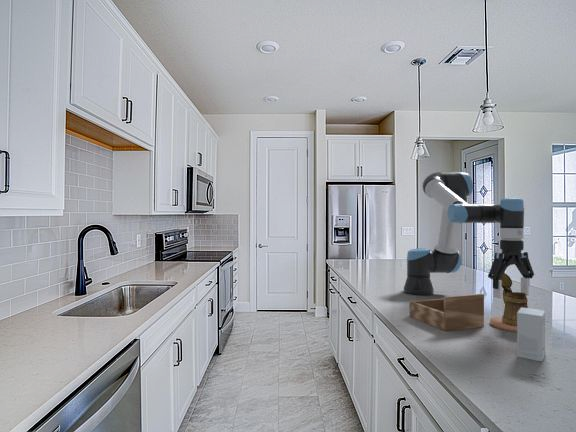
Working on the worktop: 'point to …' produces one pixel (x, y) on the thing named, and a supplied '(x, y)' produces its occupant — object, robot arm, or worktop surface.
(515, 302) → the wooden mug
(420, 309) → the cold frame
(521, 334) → the small box
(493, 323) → the peach round disc
